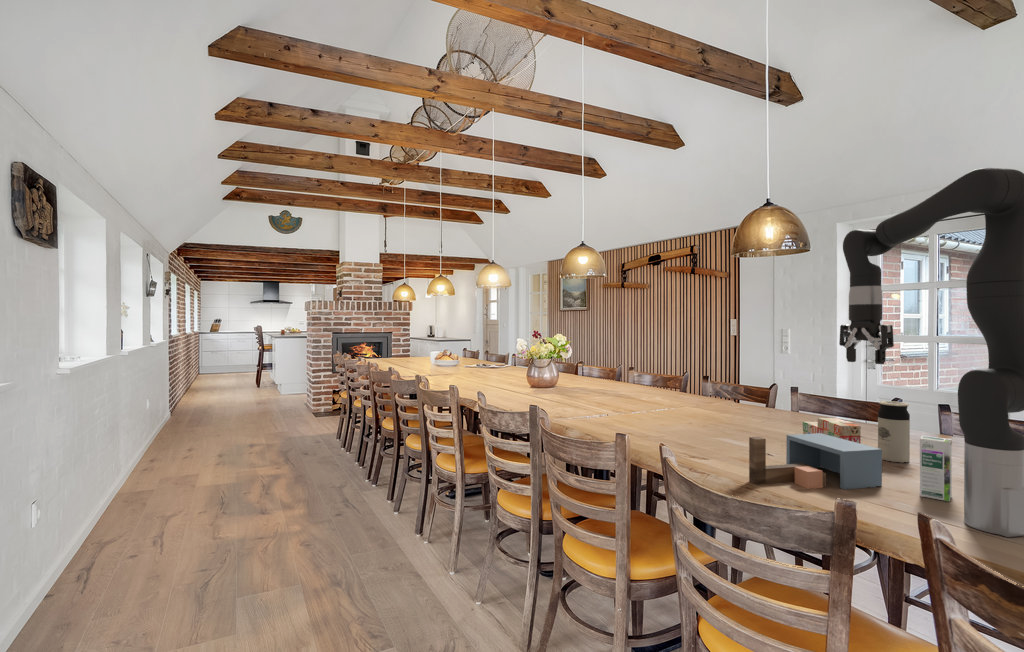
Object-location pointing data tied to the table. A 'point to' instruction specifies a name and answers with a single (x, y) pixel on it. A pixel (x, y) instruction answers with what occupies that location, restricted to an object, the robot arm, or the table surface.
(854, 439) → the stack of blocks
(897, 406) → the travel mug
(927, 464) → the syrup box
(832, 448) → the cubby
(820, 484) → the cube
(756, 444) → the bent wooden plank
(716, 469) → the table surface
